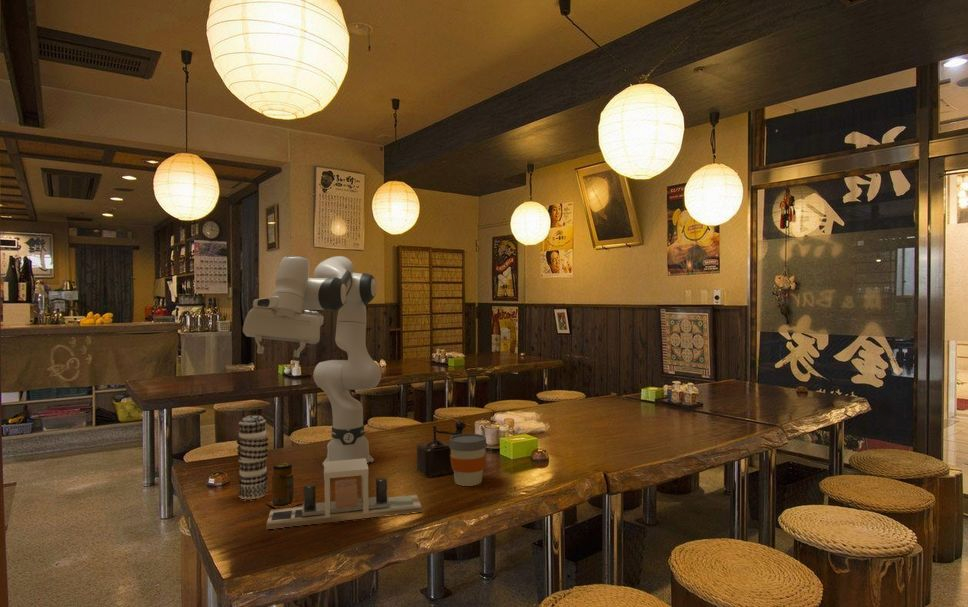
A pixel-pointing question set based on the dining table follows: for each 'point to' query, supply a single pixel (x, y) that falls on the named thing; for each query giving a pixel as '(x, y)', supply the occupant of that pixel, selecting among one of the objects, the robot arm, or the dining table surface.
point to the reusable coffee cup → (468, 458)
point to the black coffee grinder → (436, 454)
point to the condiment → (282, 484)
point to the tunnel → (345, 470)
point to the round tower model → (252, 457)
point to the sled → (345, 498)
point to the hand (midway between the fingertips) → (278, 355)
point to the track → (341, 513)
